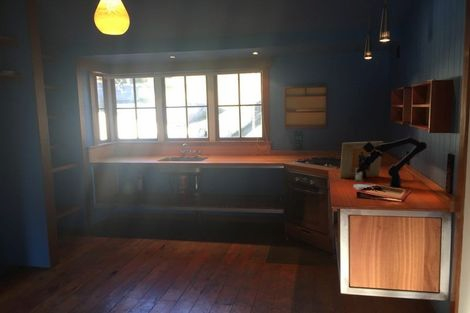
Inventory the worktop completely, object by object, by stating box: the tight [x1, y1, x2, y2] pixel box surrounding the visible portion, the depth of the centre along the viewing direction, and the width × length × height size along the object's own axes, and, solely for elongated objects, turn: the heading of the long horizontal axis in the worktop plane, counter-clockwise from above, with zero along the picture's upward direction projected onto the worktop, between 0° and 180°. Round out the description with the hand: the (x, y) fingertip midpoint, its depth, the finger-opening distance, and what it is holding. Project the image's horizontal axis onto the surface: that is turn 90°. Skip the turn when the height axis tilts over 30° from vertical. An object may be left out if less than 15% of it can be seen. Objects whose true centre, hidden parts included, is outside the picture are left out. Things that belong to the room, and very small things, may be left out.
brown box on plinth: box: [354, 168, 364, 183], centre depth 275 cm, size 6×6×10 cm
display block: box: [353, 183, 375, 191], centre depth 265 cm, size 14×10×2 cm
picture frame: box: [339, 140, 384, 180], centre depth 305 cm, size 33×10×30 cm, turn 92°
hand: (356, 172), depth 276 cm, fingers closed on brown box on plinth, 4 cm apart
